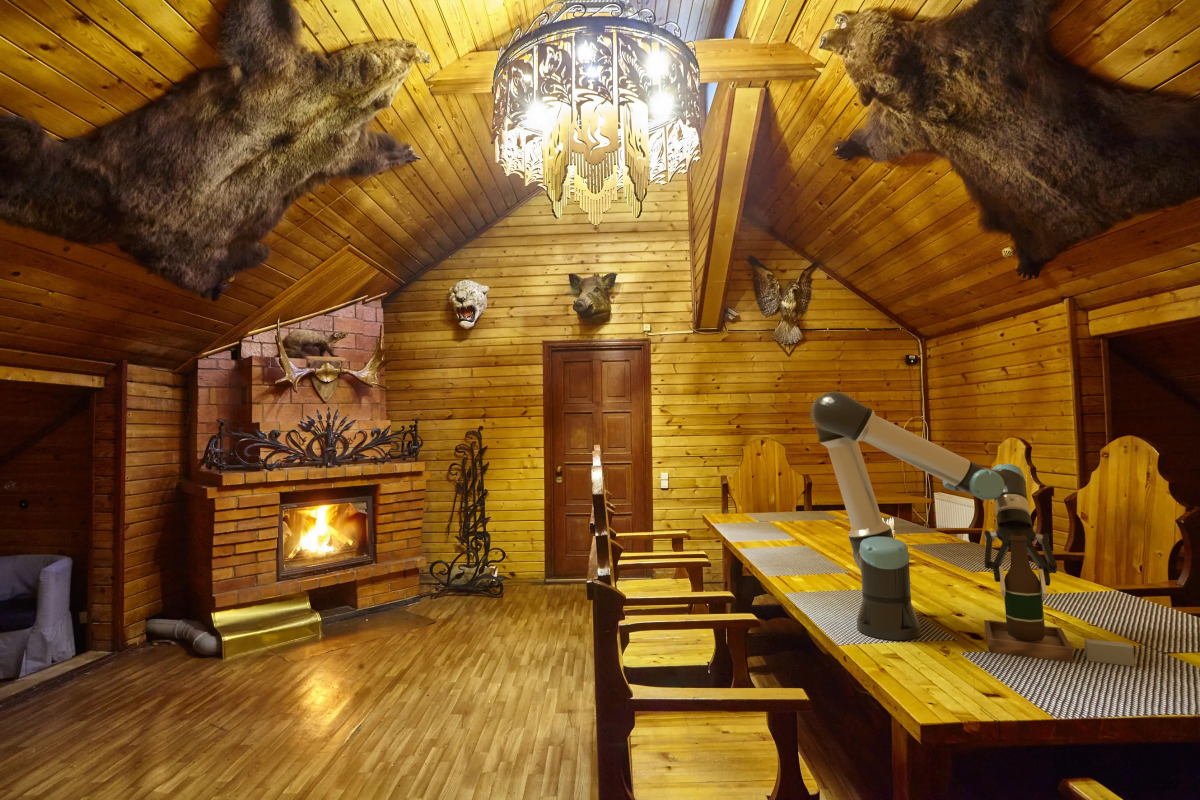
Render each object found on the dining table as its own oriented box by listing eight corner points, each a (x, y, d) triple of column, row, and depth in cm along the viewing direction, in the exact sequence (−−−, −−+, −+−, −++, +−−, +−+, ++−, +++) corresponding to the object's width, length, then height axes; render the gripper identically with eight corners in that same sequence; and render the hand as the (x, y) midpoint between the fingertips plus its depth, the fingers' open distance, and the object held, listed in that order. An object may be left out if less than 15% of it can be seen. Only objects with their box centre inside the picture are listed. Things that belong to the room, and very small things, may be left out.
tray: (988, 652, 145) (987, 639, 145) (985, 631, 159) (984, 619, 159) (1073, 662, 138) (1072, 648, 138) (1061, 640, 151) (1061, 627, 152)
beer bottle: (999, 634, 150) (991, 534, 152) (1019, 628, 154) (1011, 531, 155) (1033, 643, 143) (1024, 539, 145) (1053, 637, 147) (1044, 535, 148)
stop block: (1088, 660, 138) (1086, 642, 138) (1085, 656, 141) (1084, 638, 141) (1134, 666, 134) (1133, 647, 135) (1130, 661, 137) (1129, 643, 137)
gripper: (967, 505, 164) (973, 582, 149) (1062, 508, 154) (1078, 590, 139) (968, 523, 168) (973, 598, 153) (1060, 526, 158) (1076, 607, 143)
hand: (1023, 594), depth 146 cm, fingers closed on beer bottle, 7 cm apart
